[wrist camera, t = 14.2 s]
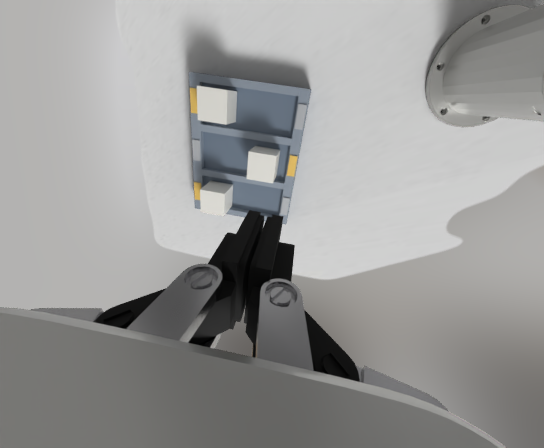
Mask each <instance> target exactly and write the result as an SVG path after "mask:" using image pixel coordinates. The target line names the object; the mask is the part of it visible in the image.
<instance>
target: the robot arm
mask: <svg viewBox="0 0 544 448" xmlns="http://www.w3.org/2000/svg"><path fill="white" fill-rule="evenodd" d="M481 20H483V22H482V23H481ZM437 65H439V68H438V69H437ZM426 96H427V102H428V105H429V108H430V109H431V111H432V113H433V114H434V115H435V116H436V117H437V118H438V119H439V120H440V121H442V122H444V123H446V124H449V125H453V126H458V127H474V126H479V125H483V124H486V123H488V122H491V121H494V120H495V119H497V118H510V119H521V120H532V121H543V122H544V4H542V5H539V6H537V7H534V8H532V9H531V8H528V7H525V6H521V5H506V6H501V7H497V8H493V9H491V10H489V11H486V12H484V13H481V14H480V15H478V16H476V17H474V18H472V19H471V20H469V21H468V22H466V23H465V24H464V25H462V26H461V27H460V28H459V29H457V30H456V31H455V32H454V33H453V34H452V35H451V36H450V37H449V38H448V40H447V41H446V42H445V43H444V45H443V46H442V47H441V49H440V50H439V52H438V53H437V55H436V57H435V58H434V61H433V63H432V65H431V68H430V70H429V74H428V78H427V84H426ZM441 110H443V111H442V113H440V112H441ZM483 116H484V117H483ZM282 222H283V216H279V215H274V214H272V217H267V219H266V222H265V225H264V228H263V224H264V216H263V215H261V212H257V211H252V210H249V211H248V213H247V215H246V217H245V219H244V221H243V222H242V224H241V226H240V228H239V230H238V232H237V233H236V234H233V233H227V234H226V235H225V237H224V239H223V240H222V242H221V243H220V245H219V247H218V248H217V250H216V252H215V253H214V255H213V256H212V258H211V260H210V261H209V263H208V264H198V265H194V266H191V267H189V268H187V269H186V270H185V271H183V272H182V273H181V274H180V275H179V276H178V277H177V278H176V279H175V280H174V281H173V282H172V283H171V284H170V285H169V287H167V288H166V289H163V290H160V291H158V292H155V293H152V294H149V295H146V296H143V297H140V298H138V299H135V300H132V301H129V302H126V303H123V304H120V305H118V306H115V307H113V308H110V309H109V310H107V311H105V312H103V311H102V309H100V308H99V309H98V308H95V309H94V308H83V309H82V308H81V309H80V308H39V309H31V310H24V309H17V308H2V307H0V448H507V447H505V446H504V445H503V444H501V443H500V442H498V441H497V440H496V439H494V438H493V437H491V436H490V435H488V434H487V433H485V432H484V431H482V430H480V429H479V428H477V427H475V426H474V425H472V424H470V423H469V422H467V421H465V420H463V419H462V418H460V417H458V416H456V415H454V414H452V413H450V412H449V411H448V410H447V409H446V408H445V407H444V406H443V405H442V404H441V403H440V402H439V401H438V400H437V399H435V398H434V397H432V396H430V395H429V394H427V393H425V392H422V391H420V390H418V389H416V388H413V387H411V386H409V385H407V384H404V383H402V382H400V381H398V380H395V379H393V378H391V377H389V376H386V375H384V374H382V373H380V372H377V371H375V370H373V369H371V368H368V367H366V366H364V367H363V369H362V368H360V367H358V366H356V365H355V363H354V362H353V361H352V359H351V358H350V357H349V356H348V355H347V354H346V353H345V352H344V351H343V350H342V348H341V347H340V346H339V345H338V344H337V343H336V342H335V341H334V340H333V339H332V338H331V337H330V336H329V335H328V334H327V333H326V332H325V331H324V330H323V329H322V328H321V327H320V326H319V325H318V324H317V323H316V321H315V320H314V319H313V318H312V317H311V316H310V315H309V314H308V313H307V312H306V311H305V310H304V306H303V300H302V294H301V291H300V290H299V288H298V287H297V286H296V285H295V284H294V283H292V282H291V276H292V267H293V257H294V246H295V245H292V244H286V243H281V242H279V240H280V234H281V228H282ZM245 306H246V308H245ZM244 309H245V317H244V323H247V325H246V333H247V335H248V337H249V338H250V339H251V341H252V343H253V347H252V357H250V356H245V355H240V354H236V353H232V352H227V351H223V350H218V349H215V347H216V345H217V343H218V341H219V339H220V336H221V333H222V332H224V331H226V330H228V329H233V328H234V325H235V322H236V321H237V322H240V321H241V318H242V315H243V312H244Z"/></svg>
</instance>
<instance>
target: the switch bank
mask: <svg viewBox="0 0 544 448" xmlns="http://www.w3.org/2000/svg"><path fill="white" fill-rule="evenodd" d="M197 86H203V87H211V88H218V89H224V90H231V91H237V109H236V122H234V123H230V124H227V125H225V124H219V123H213V122H206V121H200V120H198V113H197ZM189 89H190V111H191V133H192V155H193V177H194V199H195V208H197V209H201V206H200V189H201V188H202V187H204V186H205V185H206V184H207V183H209V182H210V181H215V182H221V183H227V184H233V198H232V206H231V208H230V209H229V210H228V212H227V213H226V214H230V215H235V216H241V217H246V215H247V213H248V211H249V210H252V211H257V212H261V215H263V216H264V221H266V219H267V217H272V214H274V215H279V216H283V222H282V224H286V223H287V217H288V212H289V207H290V201H291V196H292V190H293V185H294V180H295V174H296V169H297V163H298V158H299V152H300V147H301V142H302V136H303V131H304V125H305V120H306V114H307V109H308V104H309V98H310V93H311V89H305V88H298V87H291V86H284V85H277V84H270V83H264V82H257V81H250V80H243V79H236V78H229V77H222V76H215V75H208V74H202V73H195V72H189ZM254 146H259V147H266V148H272V149H278V150H280V156H279V163H278V170H277V175H276V178H275V180H274V182H273V183H267V182H261V181H255V180H250V179H247V166H248V152H249V151H250V150H251V149H252V148H253V147H254Z"/></svg>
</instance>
